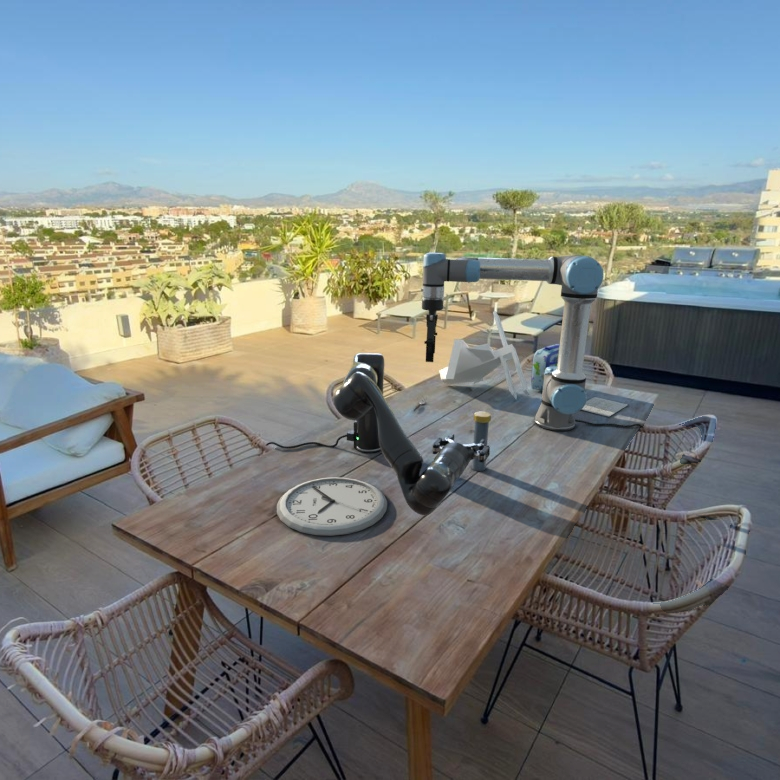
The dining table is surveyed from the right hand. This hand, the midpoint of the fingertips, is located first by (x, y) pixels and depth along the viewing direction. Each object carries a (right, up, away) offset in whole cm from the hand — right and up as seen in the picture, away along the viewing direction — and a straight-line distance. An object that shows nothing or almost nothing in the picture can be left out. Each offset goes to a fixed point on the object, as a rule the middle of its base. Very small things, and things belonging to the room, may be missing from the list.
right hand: (430, 357), depth 190 cm
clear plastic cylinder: (+14, -37, -23) cm, 45 cm away
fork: (-2, -19, +33) cm, 38 cm away
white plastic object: (+27, -13, +54) cm, 61 cm away
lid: (+14, -20, -28) cm, 37 cm away
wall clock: (-30, -43, -47) cm, 71 cm away
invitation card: (+77, -19, +37) cm, 87 cm away
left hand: (+7, -25, -47) cm, 54 cm away
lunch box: (+63, -11, +61) cm, 88 cm away
